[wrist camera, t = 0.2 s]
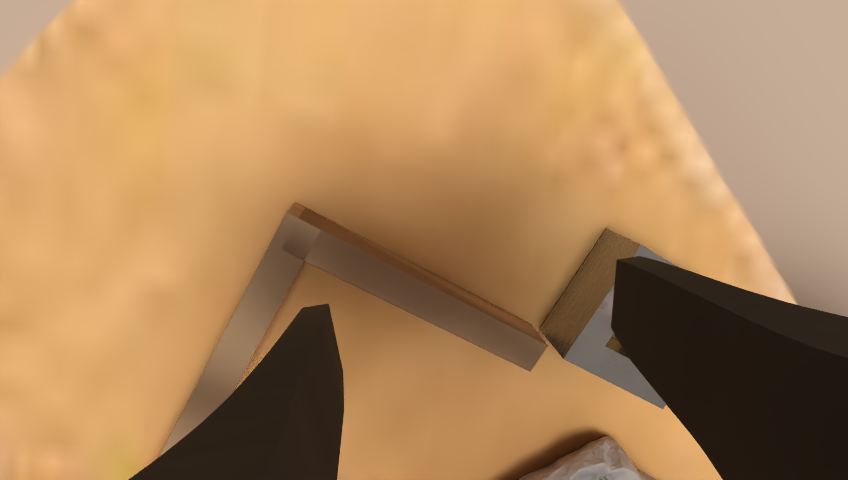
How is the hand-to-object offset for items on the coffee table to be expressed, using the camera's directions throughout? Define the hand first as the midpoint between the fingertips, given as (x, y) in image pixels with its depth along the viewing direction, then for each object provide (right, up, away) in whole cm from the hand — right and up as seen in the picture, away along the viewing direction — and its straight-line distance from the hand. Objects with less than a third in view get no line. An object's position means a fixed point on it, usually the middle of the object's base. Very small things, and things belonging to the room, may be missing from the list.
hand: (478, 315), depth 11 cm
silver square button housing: (+9, -1, +12) cm, 15 cm away
